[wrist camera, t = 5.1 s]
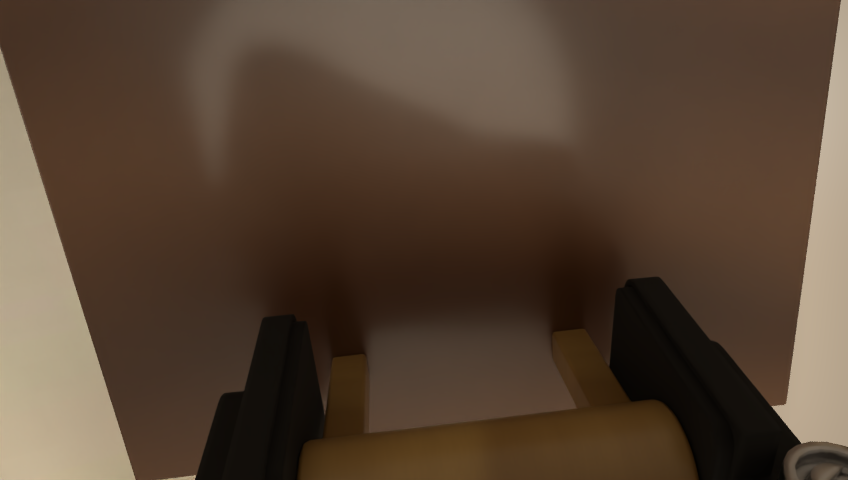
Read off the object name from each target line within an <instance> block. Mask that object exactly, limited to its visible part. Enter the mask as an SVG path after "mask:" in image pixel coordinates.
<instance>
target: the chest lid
mask: <svg viewBox="0 0 848 480" xmlns="http://www.w3.org/2000/svg"><path fill="white" fill-rule="evenodd" d="M840 2H841V0H0V48H1V51H2V54H3V57H4V60H5V64H6V67H7V70H8V73H9V76H10V80H11V83H12V86H13V89H14V92H15V96H16V99H17V102H18V105H19V108H20V112H21V115H22V118H23V121H24V124H25V127H26V131H27V134H28V137H29V140H30V143H31V147H32V150H33V153H34V156H35V159H36V163H37V166H38V169H39V172H40V175H41V179H42V182H43V185H44V188H45V191H46V195H47V198H48V201H49V204H50V207H51V210H52V214H53V217H54V220H55V223H56V226H57V230H58V233H59V236H60V239H61V242H62V246H63V249H64V252H65V255H66V258H67V262H68V265H69V268H70V271H71V274H72V278H73V281H74V284H75V287H76V290H77V293H78V297H79V300H80V303H81V306H82V309H83V313H84V316H85V319H86V322H87V325H88V329H89V332H90V335H91V338H92V341H93V345H94V348H95V351H96V354H97V357H98V361H99V364H100V367H101V370H102V373H103V376H104V380H105V383H106V386H107V389H108V392H109V396H110V399H111V402H112V405H113V408H114V412H115V415H116V418H117V421H118V424H119V428H120V431H121V434H122V437H123V440H124V444H125V447H126V450H127V453H128V456H129V459H130V463H131V466H132V469H133V472H134V475H135V479H136V480H159V479H168V478H176V477H184V476H193V475H197V472H198V468H199V465H200V462H201V458H202V455H203V452H204V448H205V445H206V442H207V438H208V435H209V432H210V428H211V425H212V422H213V418H214V415H215V412H216V408H217V405H218V402H219V400H220V397H221V396H222V395H223V394H224V393H230V392H239V391H244V389H245V385H246V381H247V377H248V373H249V369H250V365H251V361H252V357H253V353H254V349H255V346H256V342H257V338H258V334H259V330H260V326H261V322H262V319H263V318H264V317H269V316H279V315H289V314H294V315H295V317H296V320H297V321H306V322H307V324H308V329H309V334H310V339H311V345H312V350H313V355H314V360H315V366H316V371H317V376H318V381H319V387H320V392H321V397H322V402H323V408H324V413H325V421H324V429H323V438H322V439H314V440H309V441H307V442H306V443H304V444H303V446H302V449H301V452H300V456H299V460H298V467H297V478H296V480H699V477H698V472H697V467H696V463H695V460H694V456H693V453H692V450H691V447H690V444H689V442H688V439H687V437H686V434H685V432H684V430H683V428H682V426H681V424H680V422H679V420H678V419H677V417H676V416H675V414H674V413H673V411H672V410H671V409H670V408H669V407H668V406H667V405H666V404H665V403H663V402H661V401H658V400H654V399H651V400H642V401H634V402H631V400H630V399H629V397H628V396H627V394H626V393H625V391H624V389H623V388H622V386H621V385H620V383H619V382H618V380H617V379H616V377H615V375H614V374H613V372H612V371H611V369H610V368H609V364H610V352H611V340H612V328H613V316H614V304H615V294H616V290H617V289H618V288H623V287H624V286H625V283H626V281H627V280H628V279H636V278H645V277H655V276H657V277H660V278H661V279H662V280H663V281H664V282H665V284H666V285H667V286H668V287H669V289H670V290H671V291H672V293H673V294H674V295H675V296H676V298H677V299H678V300H679V301H680V303H681V304H682V305H683V306H684V308H685V309H686V310H687V311H688V313H689V314H690V315H691V316H692V318H693V319H694V320H695V321H696V323H697V324H698V325H699V326H700V328H701V329H702V330H703V331H704V333H705V334H706V335H707V336H708V338H709V339H710V340H712V341H715V342H718V343H719V344H720V345H721V346H722V347H723V348H724V349H725V350H726V351H727V353H728V354H729V355H730V356H731V358H732V359H733V360H734V361H735V363H736V364H737V365H738V366H739V367H740V369H741V370H742V371H743V372H744V374H745V375H746V376H747V377H748V378H749V380H750V381H751V382H752V383H753V385H754V386H755V387H756V388H757V390H758V391H759V392H760V393H761V394H762V396H763V397H764V398H765V399H766V401H767V402H768V403H769V404H770V406H777V405H784V404H786V400H787V393H788V386H789V378H790V370H791V363H792V356H793V349H794V342H795V334H796V327H797V318H798V311H799V305H800V297H801V289H802V283H803V275H804V268H805V260H806V252H807V246H808V238H809V230H810V224H811V216H812V208H813V201H814V194H815V186H816V179H817V172H818V165H819V157H820V150H821V142H822V135H823V127H824V120H825V112H826V105H827V98H828V91H829V83H830V76H831V69H832V61H833V54H834V46H835V39H836V31H837V24H838V17H839V10H840Z"/></svg>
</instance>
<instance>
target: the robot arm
mask: <svg viewBox="0 0 848 480" xmlns="http://www.w3.org/2000/svg"><path fill="white" fill-rule="evenodd" d="M609 368H610V369H611V371H612V372H613V374H614V375H615V377H616V379H617V380H618V382H619V383H620V385H621V386H622V388H623V389H624V391H625V393H626V394H627V396H628V397H629V399H630V400H631V402H634V401H642V400H651V399H654V400H658V401H661V402H663V403H665V404H666V405H667V406H668V407H669V408H670V409H671V410H672V411H673V413H674V414H675V416H676V417H677V419H678V420H679V422H680V424H681V426H682V428H683V430H684V432H685V434H686V437H687V439H688V442H689V444H690V447H691V450H692V453H693V456H694V460H695V463H696V467H697V472H698V477H699V480H848V447H846V446H842V445H838V444H833V443H829V442H808V443H803V444H801V442H800V441H799V440H798V439H797V437H796V436H795V435H794V434H793V433H792V432H791V430H790V429H789V428H788V426H787V425H786V424H785V423H784V422H783V420H782V419H781V418H780V417H779V415H778V414H777V413H776V412H775V410H774V409H773V408H772V407H771V406H770V404H769V403H768V402H767V401H766V399H765V398H764V397H763V396H762V394H761V393H760V392H759V391H758V390H757V388H756V387H755V386H754V385H753V383H752V382H751V381H750V380H749V378H748V377H747V376H746V375H745V374H744V372H743V371H742V370H741V369H740V367H739V366H738V365H737V364H736V363H735V361H734V360H733V359H732V358H731V356H730V355H729V354H728V353H727V351H726V350H725V349H724V348H723V347H722V346H721V345H720V344H719V343H718V342H715V341H712V340H710V339H709V338H708V336H707V335H706V334H705V333H704V331H703V330H702V329H701V328H700V326H699V325H698V324H697V323H696V321H695V320H694V319H693V318H692V316H691V315H690V314H689V313H688V311H687V310H686V309H685V308H684V306H683V305H682V304H681V303H680V301H679V300H678V299H677V298H676V296H675V295H674V294H673V293H672V291H671V290H670V289H669V287H668V286H667V285H666V284H665V282H664V281H663V280H662V279H661V278H660V277H657V276H655V277H645V278H636V279H628V280H627V281H626V283H625V286H624V287H623V288H618V289H617V290H616V294H615V304H614V316H613V328H612V340H611V352H610V364H609ZM324 421H325V413H324V408H323V402H322V397H321V392H320V387H319V381H318V376H317V371H316V366H315V360H314V355H313V350H312V345H311V339H310V334H309V329H308V324H307V322H306V321H297V320H296V317H295V315H294V314H289V315H279V316H269V317H264V318H263V319H262V322H261V326H260V330H259V334H258V338H257V342H256V346H255V349H254V353H253V357H252V361H251V365H250V369H249V373H248V377H247V381H246V385H245V389H244V391H239V392H230V393H224V394H223V395H222V396H221V397H220V400H219V402H218V405H217V408H216V412H215V415H214V418H213V422H212V425H211V428H210V432H209V435H208V438H207V442H206V445H205V448H204V452H203V455H202V458H201V462H200V465H199V468H198V472H197V475H196V478H195V480H296V478H297V467H298V460H299V456H300V452H301V449H302V446H303V444H304V443H306V442H307V441H309V440H314V439H322V438H323V429H324Z"/></svg>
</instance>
